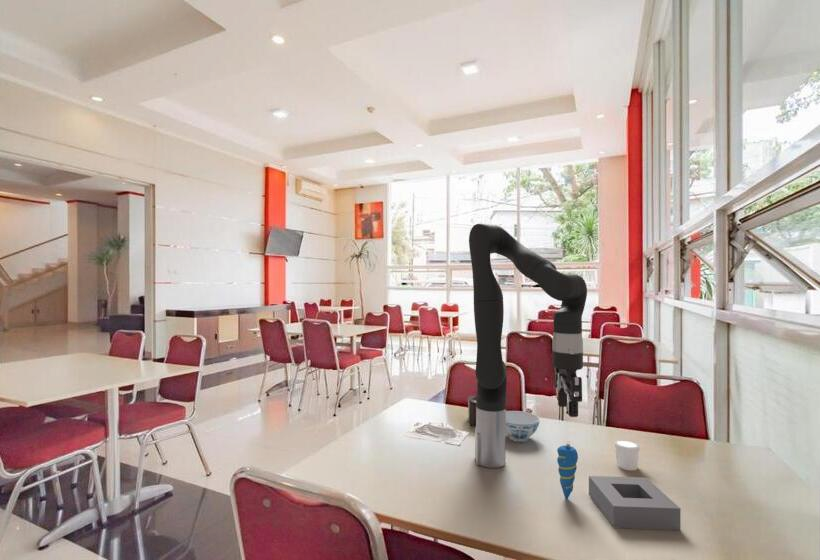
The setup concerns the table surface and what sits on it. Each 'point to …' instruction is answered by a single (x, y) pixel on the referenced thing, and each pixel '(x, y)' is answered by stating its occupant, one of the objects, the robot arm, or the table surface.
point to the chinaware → (521, 425)
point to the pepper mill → (472, 410)
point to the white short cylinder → (627, 454)
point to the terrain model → (437, 433)
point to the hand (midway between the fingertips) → (567, 411)
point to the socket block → (634, 503)
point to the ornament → (567, 467)
